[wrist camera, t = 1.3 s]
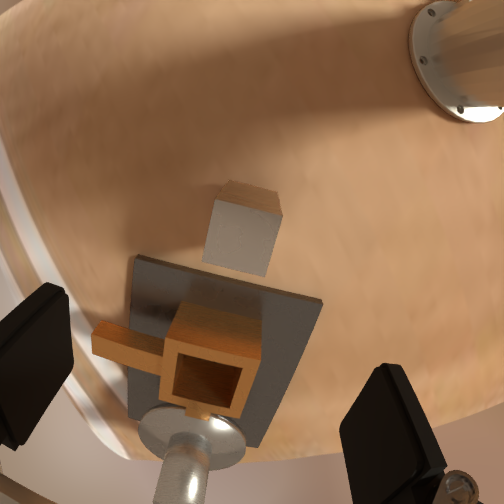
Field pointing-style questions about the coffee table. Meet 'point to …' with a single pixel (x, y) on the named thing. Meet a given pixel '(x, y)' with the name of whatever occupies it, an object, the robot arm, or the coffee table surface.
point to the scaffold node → (204, 367)
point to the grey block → (243, 228)
